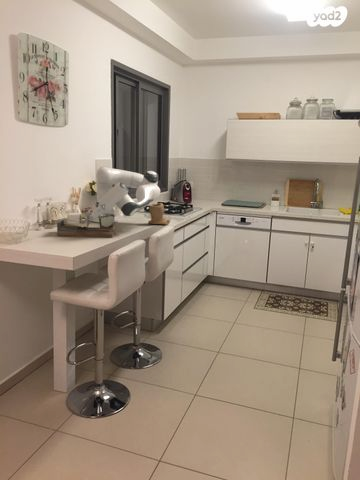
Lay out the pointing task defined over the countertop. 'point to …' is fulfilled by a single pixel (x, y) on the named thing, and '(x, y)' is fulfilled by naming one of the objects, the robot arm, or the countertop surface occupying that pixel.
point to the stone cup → (157, 214)
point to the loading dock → (83, 231)
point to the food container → (106, 220)
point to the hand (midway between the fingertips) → (89, 220)
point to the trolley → (78, 219)
